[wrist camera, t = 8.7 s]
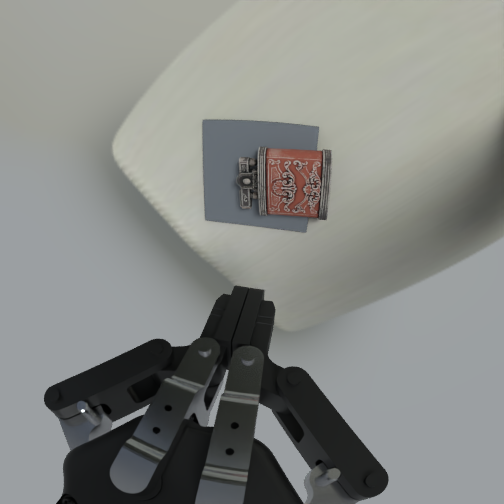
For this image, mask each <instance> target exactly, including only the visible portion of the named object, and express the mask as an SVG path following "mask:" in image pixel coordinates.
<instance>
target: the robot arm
mask: <svg viewBox="0 0 504 504" xmlns="http://www.w3.org/2000/svg"><path fill="white" fill-rule="evenodd" d="M274 317H275V307H274V304H273V302H272V301H265V300H264V290H261V289H254V288H250V289H249V288H247V287H241V286H234V289H233V291H232V294H231V295H227V294H223V295H221V296H220V297H219V298H218V299H217V300H216V302H215V305H214V307H213V309H212V311H211V314H210V316H209V318H208V320H207V323H206V325H205V327H204V330H203V332H202V334H201V336H200V338H198V339H196V340H195V341H193V343H191V345H188V346H181V347H180V346H179V347H171V345H170V343H169V342H167V341H166V340H164V339H153V340H151V341H148V342H146V343H144V344H142V345H140V346H138V347H136V348H134V349H132V350H130V351H128V352H125V353H123V354H121V355H119V356H117V357H115V358H113V359H111V360H108V361H106V362H104V363H102V364H100V365H98V366H95V367H93V368H91V369H89V370H87V371H84V372H82V373H80V374H78V375H76V376H73V377H71V378H69V379H66V380H64V381H62V382H60V383H57V384H55V385H53V386H51V387H49V388H48V389H47V391H46V393H45V395H44V402H45V405H46V406H47V407H48V408H49V409H50V410H51V411H52V412H53V413H54V414H55V415H56V416H57V417H58V418H59V421H60V424H61V426H62V429H63V432H64V435H65V437H66V440H67V442H68V445H69V447H70V450H71V451H70V452H69V453H68V455H67V456H66V458H65V460H64V464H63V473H64V489H63V494H62V496H61V498H60V499H59V501H58V502H57V503H56V504H303V502H302V500H301V499H300V497H299V496H298V494H297V492H296V491H295V489H294V488H293V486H292V485H291V483H290V482H289V480H288V478H287V477H286V475H285V473H284V472H283V470H282V468H281V467H280V465H279V463H278V462H277V460H276V458H275V456H274V455H273V453H272V452H271V451H270V449H269V448H268V447H267V446H265V445H264V444H263V443H262V442H260V441H259V440H257V439H255V438H254V433H255V426H256V419H257V412H258V404H259V403H260V404H263V405H264V406H266V407H268V408H270V409H272V412H273V414H274V415H275V417H276V418H277V420H278V421H279V423H280V424H281V426H282V427H283V429H284V430H285V432H286V434H287V435H288V436H289V438H290V439H291V441H292V442H293V444H294V445H295V447H296V448H297V450H298V451H299V453H300V454H301V455H302V457H303V458H304V460H305V461H306V462H307V464H308V465H309V467H310V468H311V469H312V470H311V471H310V472H309V473H308V474H307V475H306V477H305V480H304V486H305V488H306V490H307V494H308V497H307V501H306V503H305V504H355V503H357V502H358V501H361V500H364V499H368V498H371V497H374V496H377V495H378V494H380V493H382V492H383V491H384V490H385V488H386V486H387V484H388V474H387V472H386V471H385V469H384V468H383V467H382V466H381V464H380V463H379V462H378V461H377V460H376V459H375V457H374V456H373V455H372V454H371V452H370V451H369V450H368V449H367V448H366V446H365V445H364V444H363V443H362V442H361V440H360V439H359V438H358V436H357V435H356V434H355V433H354V432H353V430H352V429H351V428H350V427H349V425H348V424H347V423H346V422H345V420H344V419H343V418H342V417H341V415H340V414H339V413H338V412H337V410H336V409H335V408H334V406H333V405H332V404H331V403H330V401H329V400H328V399H327V398H326V396H325V395H324V394H323V392H322V391H321V390H320V389H319V387H318V386H317V385H316V383H315V382H314V381H313V379H312V378H311V377H310V376H309V374H308V373H307V372H306V371H305V370H303V369H302V368H299V367H287V368H285V369H284V368H282V367H280V366H278V365H276V364H274V363H273V362H272V361H271V360H270V359H269V357H268V351H269V345H270V341H271V336H272V331H273V325H274ZM226 369H227V370H229V371H228V376H227V381H226V385H225V390H224V393H223V394H222V395H221V398H220V402H219V406H218V411H217V415H216V420H215V424H214V427H207V425H208V421H209V415H210V411H211V410H212V407H213V405H214V403H215V400H216V398H217V396H218V393H219V391H220V389H221V386H222V384H223V378H224V375H225V372H226ZM149 404H150V405H149ZM147 405H149V407H148V409H147V411H146V413H145V414H144V415H141V416H139V417H136V418H134V419H132V420H131V421H129V422H127V423H125V424H123V425H121V426H119V427H117V428H115V429H113V430H111V427H112V422H114V421H116V420H118V419H120V418H122V417H125V416H127V415H129V414H131V413H133V412H135V411H137V410H139V409H141V408H143V407H145V406H147Z"/></svg>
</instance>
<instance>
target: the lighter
mask: <svg viewBox="0 0 504 504" xmlns="http://www.w3.org/2000/svg"><path fill="white" fill-rule="evenodd" d="M255 165H258V166H256V167H255V168H251V167H252V166H255ZM331 169H332V151H331V150H323V151H314V150H299V149H276V148H268V147H261V146H260V147H259V150H258V159H254V158H250V157H240V159H239V170H240V173H239V174H238V176H237V178H236V183H237V185H239V186H240V187H241V188H240V190H239V195H240V207H242V209H251V208H252V198H253V199H259V212H260V215H263V216H267V215H268V214H273V215H288V216H302V217H315V218H318V219H319V220H326V219H327V213H328V205H329V195H330V184H331ZM252 189H253V190H254V191H258V192H252Z"/></svg>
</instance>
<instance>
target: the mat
mask: <svg viewBox="0 0 504 504" xmlns="http://www.w3.org/2000/svg"><path fill="white" fill-rule="evenodd" d="M318 133H319V127H316V126H308V125H299V124H289V123H278V122H265V121H248V120H203V169H204V198H205V219H206V220H209V221H218V222H226V223H235V224H243V225H252V226H260V227H268V228H276V229H283V230H291V231H299V232H306V230H307V224H308V217H302V216H288V215H273V214H268V215H267V216H263V215H260V212H259V199H253V198H252V208H251V209H242V207H240V195H239V190H240V188H241V187H240V186H239V185H237V183H236V178H237V176H238V174H239V173H240V170H239V159H240V157H250V158H254V159H258V150H259V147H260V146H261V147H268V148H276V149H299V150H314V151H317V143H318ZM256 166H258V165H255V166H252V167H251V168H255V167H256ZM252 192H258V191H254V190H253V189H252Z"/></svg>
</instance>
